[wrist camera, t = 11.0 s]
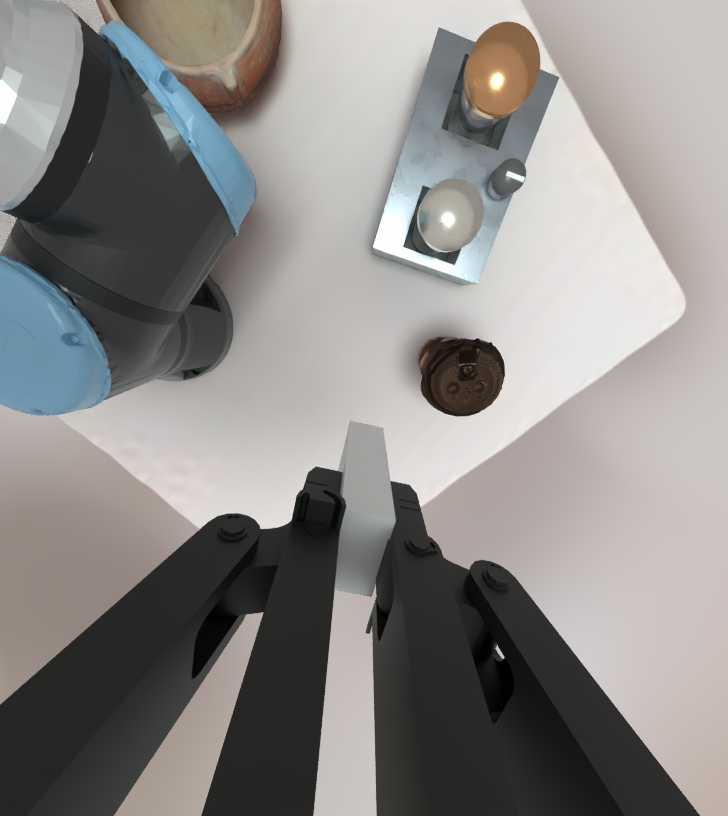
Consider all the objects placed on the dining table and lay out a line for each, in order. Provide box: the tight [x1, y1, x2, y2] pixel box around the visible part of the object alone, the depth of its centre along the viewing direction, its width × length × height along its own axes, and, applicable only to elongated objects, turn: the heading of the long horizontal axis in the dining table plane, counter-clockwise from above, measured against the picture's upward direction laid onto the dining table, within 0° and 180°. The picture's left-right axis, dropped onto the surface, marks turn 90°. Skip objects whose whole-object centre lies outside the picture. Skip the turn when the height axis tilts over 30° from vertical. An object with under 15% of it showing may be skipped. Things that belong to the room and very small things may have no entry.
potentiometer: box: [487, 158, 526, 200], centre depth 34 cm, size 3×3×3 cm
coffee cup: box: [418, 337, 505, 416], centre depth 40 cm, size 9×8×13 cm
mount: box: [372, 28, 559, 285], centre depth 37 cm, size 12×19×6 cm, turn 162°
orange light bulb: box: [448, 22, 540, 144], centre depth 33 cm, size 6×6×10 cm
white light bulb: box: [413, 178, 484, 254], centre depth 36 cm, size 6×6×10 cm
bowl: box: [96, 0, 282, 113], centre depth 32 cm, size 16×16×10 cm
